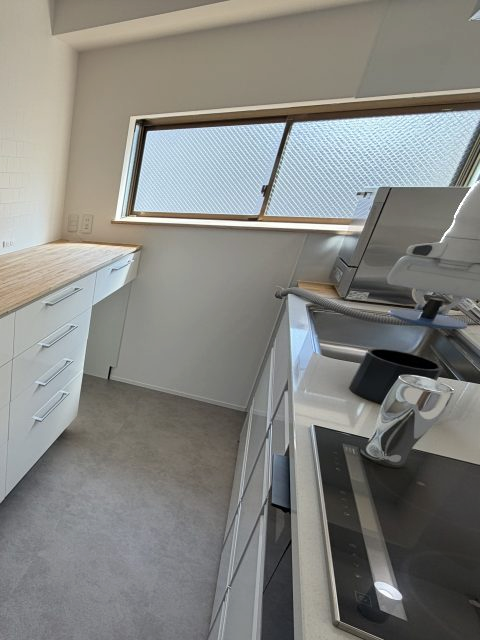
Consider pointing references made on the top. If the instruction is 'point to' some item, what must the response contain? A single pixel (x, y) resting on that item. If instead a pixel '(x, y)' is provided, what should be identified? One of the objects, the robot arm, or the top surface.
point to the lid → (429, 316)
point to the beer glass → (406, 418)
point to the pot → (389, 372)
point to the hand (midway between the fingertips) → (430, 311)
